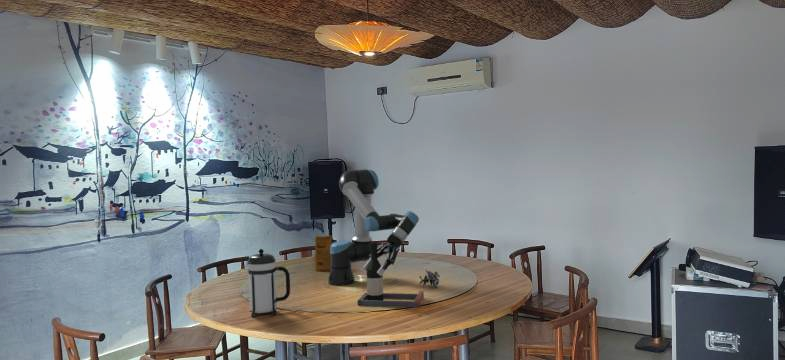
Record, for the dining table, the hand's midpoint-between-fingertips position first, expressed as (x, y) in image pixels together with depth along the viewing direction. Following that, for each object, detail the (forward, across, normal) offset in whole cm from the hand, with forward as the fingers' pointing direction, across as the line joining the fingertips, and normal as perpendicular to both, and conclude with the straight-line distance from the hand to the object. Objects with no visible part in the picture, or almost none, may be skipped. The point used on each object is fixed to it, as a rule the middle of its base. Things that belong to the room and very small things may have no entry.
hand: (371, 272), depth 259 cm
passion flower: (-17, +7, -39) cm, 43 cm away
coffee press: (+45, +16, +23) cm, 53 cm away
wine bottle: (+10, 0, -12) cm, 15 cm away
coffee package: (0, +88, -21) cm, 91 cm away
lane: (+5, -5, -16) cm, 18 cm away
